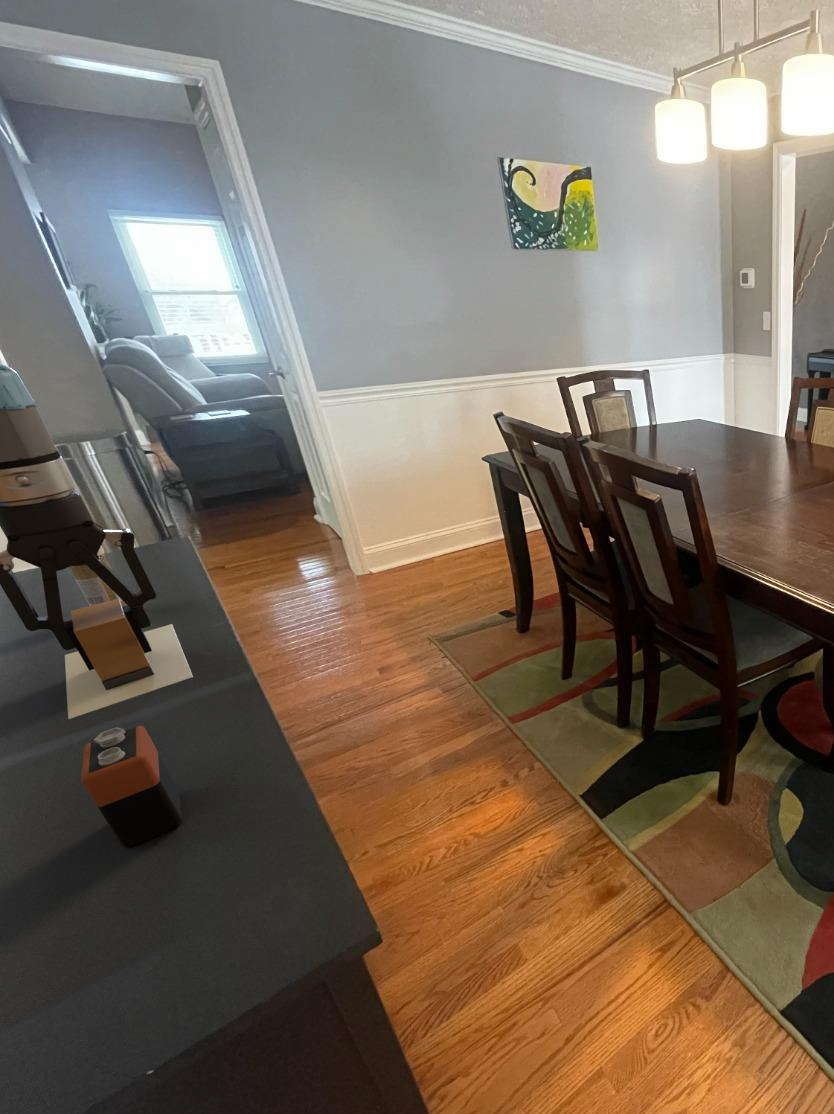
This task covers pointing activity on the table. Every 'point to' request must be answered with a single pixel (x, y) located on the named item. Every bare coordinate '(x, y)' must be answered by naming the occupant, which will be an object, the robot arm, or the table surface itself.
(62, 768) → the table surface
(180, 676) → the board
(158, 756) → the battery
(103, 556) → the sprinkles bottle
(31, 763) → the table surface
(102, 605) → the eraser
